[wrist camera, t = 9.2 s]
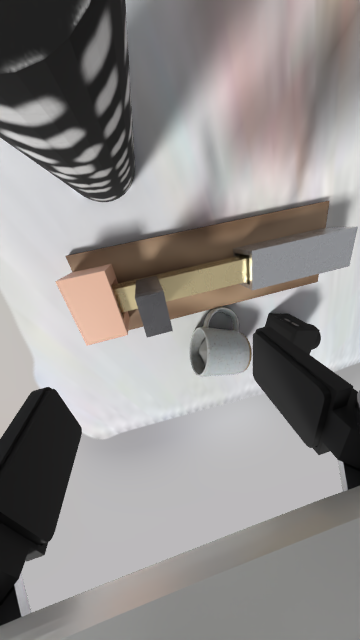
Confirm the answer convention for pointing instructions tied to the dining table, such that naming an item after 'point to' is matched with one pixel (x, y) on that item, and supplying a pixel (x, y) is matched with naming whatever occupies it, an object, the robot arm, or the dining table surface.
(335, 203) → the dining table surface
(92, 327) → the terracotta socket
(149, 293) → the hammer
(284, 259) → the metal sleeve
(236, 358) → the ceramic mug
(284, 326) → the digital camera
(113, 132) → the spotted tube
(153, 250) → the walnut board
